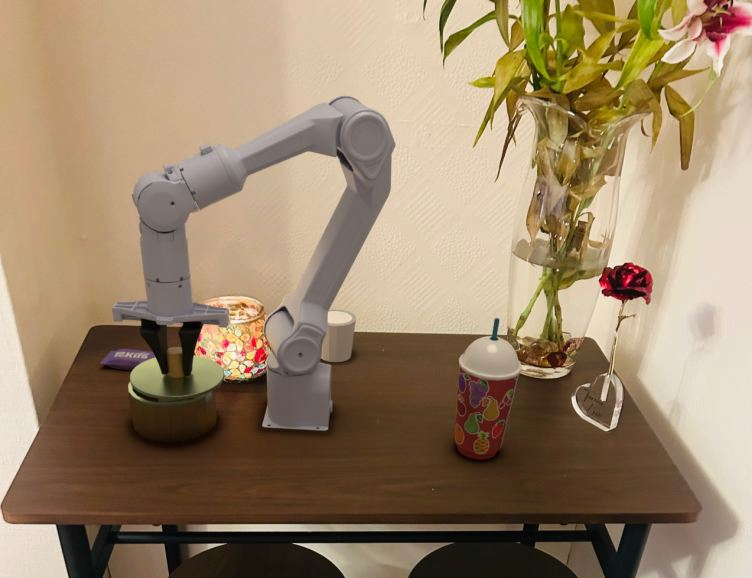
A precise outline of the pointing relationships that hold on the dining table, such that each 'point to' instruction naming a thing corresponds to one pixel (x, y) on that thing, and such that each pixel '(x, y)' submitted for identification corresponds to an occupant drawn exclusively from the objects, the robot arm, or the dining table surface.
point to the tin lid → (176, 377)
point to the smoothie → (485, 395)
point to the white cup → (338, 336)
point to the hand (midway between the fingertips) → (177, 371)
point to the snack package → (126, 358)
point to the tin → (172, 417)
